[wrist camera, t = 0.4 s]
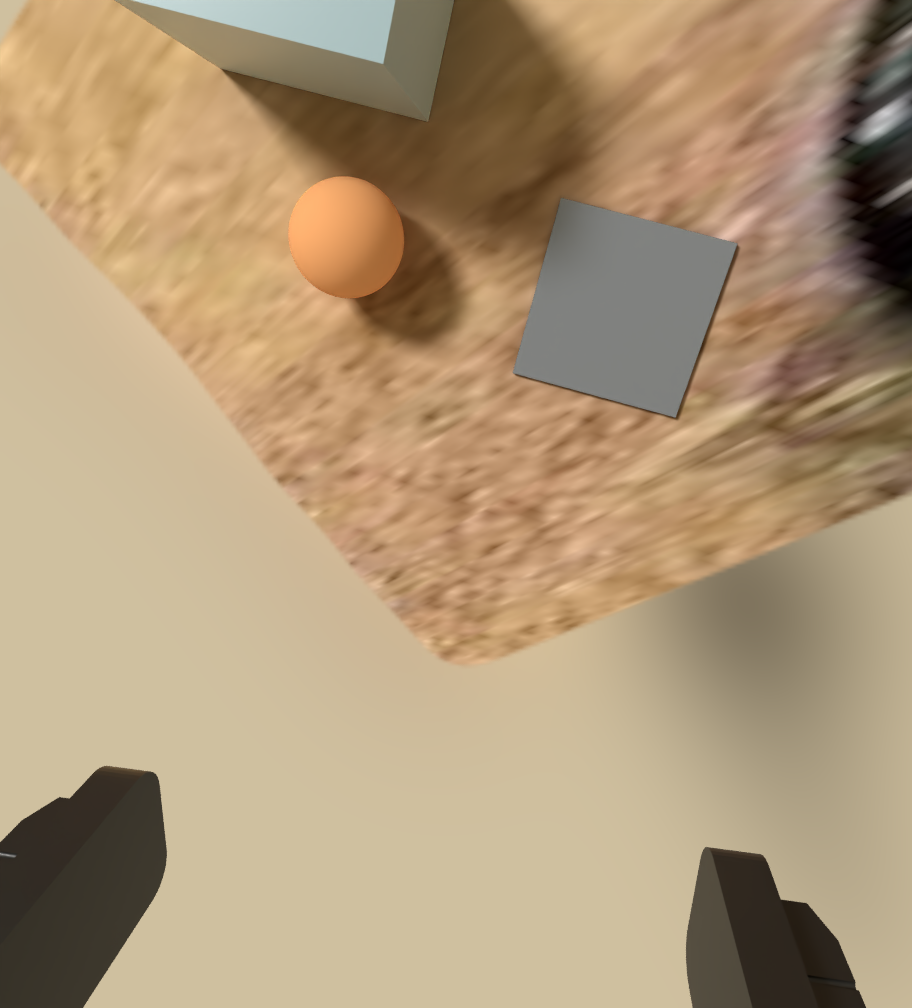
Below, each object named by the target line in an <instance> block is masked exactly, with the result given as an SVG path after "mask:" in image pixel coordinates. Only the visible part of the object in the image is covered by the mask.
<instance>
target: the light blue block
mask: <svg viewBox="0 0 912 1008" xmlns="http://www.w3.org/2000/svg"><path fill="white" fill-rule="evenodd" d="M115 1H117V2H118V3H120V4H121V5H123V6H124V7H126V8H127V9H129V10H130V11H132V12H134V13H135V14H137V15H138V16H140V17H141V18H143V19H144V20H146V21H147V22H149V23H151V24H152V25H154V26H155V27H157V28H158V29H160V30H161V31H163V32H164V33H166V34H168V35H169V36H171V37H172V38H174V39H175V40H177V41H178V42H180V43H181V44H183V45H185V46H186V47H188V48H189V49H191V50H192V51H194V52H195V53H197V54H198V55H200V56H202V57H203V58H205V59H206V60H208V61H209V62H211V63H212V64H214V65H215V66H217V67H219V68H220V69H224V70H228V71H232V72H236V73H240V74H243V75H247V76H251V77H255V78H259V79H263V80H267V81H271V82H275V83H279V84H282V85H286V86H290V87H294V88H298V89H302V90H306V91H310V92H314V93H317V94H321V95H325V96H329V97H333V98H337V99H341V100H345V101H349V102H353V103H356V104H360V105H364V106H368V107H372V108H376V109H380V110H384V111H388V112H391V113H395V114H399V115H403V116H407V117H411V118H415V119H419V120H423V121H427V122H428V121H429V116H430V111H431V107H432V102H433V97H434V93H435V88H436V83H437V79H438V74H439V69H440V65H441V60H442V55H443V51H444V46H445V41H446V37H447V32H448V27H449V22H450V18H451V13H452V8H453V4H454V0H115Z"/></svg>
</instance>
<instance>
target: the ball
mask: <svg viewBox="0 0 912 1008" xmlns="http://www.w3.org/2000/svg"><path fill="white" fill-rule="evenodd" d="M289 245H290V249H291V253H292V256H293V259H294V261H295V263H296V265H297V267H298V269H299V270H300V272H301V273H302V275H303V276H304V277H305V278H306V279H307V280H308V281H309V282H310V283H311V284H312V285H313V286H315V287H316V288H318V289H319V290H321V291H323V292H325V293H327V294H329V295H332V296H336V297H341V298H358V297H363V296H366V295H369V294H371V293H374V292H375V291H377V290H379V289H380V288H382V287H383V286H384V285H385V284H386V283H387V282H388V281H389V280H390V279H391V278H392V276H393V275H394V274H395V272H396V270H397V269H398V266H399V264H400V262H401V258H402V255H403V249H404V231H403V226H402V222H401V219H400V216H399V214H398V212H397V210H396V208H395V206H394V205H393V203H392V201H391V200H390V199H389V198H388V197H387V196H386V195H385V194H384V193H383V192H382V191H381V190H380V189H379V188H377V187H376V186H374V185H373V184H371V183H369V182H367V181H365V180H362V179H359V178H355V177H349V176H338V177H332V178H328V179H325V180H323V181H320V182H318V183H316V184H315V185H313V186H312V187H310V188H309V189H308V190H307V191H306V192H305V193H304V194H303V195H302V196H301V198H300V199H299V201H298V202H297V204H296V206H295V208H294V210H293V212H292V215H291V219H290V223H289Z"/></svg>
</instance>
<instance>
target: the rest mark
mask: <svg viewBox="0 0 912 1008" xmlns="http://www.w3.org/2000/svg"><path fill="white" fill-rule="evenodd" d="M736 246H737V243H734V242H730V241H726V240H722V239H718V238H714V237H710V236H707V235H703V234H699V233H695V232H691V231H687V230H683V229H680V228H676V227H672V226H668V225H664V224H660V223H657V222H653V221H649V220H645V219H641V218H637V217H633V216H630V215H626V214H622V213H618V212H614V211H610V210H606V209H603V208H599V207H595V206H591V205H587V204H583V203H580V202H576V201H572V200H568V199H564V198H561V200H560V204H559V207H558V211H557V215H556V218H555V222H554V225H553V229H552V233H551V236H550V240H549V244H548V247H547V251H546V254H545V258H544V262H543V265H542V269H541V273H540V276H539V280H538V283H537V287H536V291H535V294H534V298H533V302H532V305H531V309H530V312H529V316H528V320H527V323H526V327H525V331H524V334H523V338H522V341H521V345H520V349H519V352H518V356H517V360H516V363H515V367H514V370H513V373H514V374H518V375H522V376H525V377H529V378H533V379H536V380H540V381H544V382H547V383H551V384H555V385H558V386H562V387H565V388H569V389H573V390H576V391H580V392H584V393H587V394H591V395H595V396H598V397H602V398H606V399H609V400H613V401H617V402H620V403H624V404H628V405H631V406H635V407H639V408H642V409H646V410H650V411H653V412H657V413H661V414H664V415H668V416H672V417H675V418H676V415H677V412H678V409H679V406H680V404H681V401H682V398H683V395H684V392H685V390H686V387H687V384H688V381H689V378H690V376H691V373H692V370H693V367H694V364H695V361H696V359H697V356H698V353H699V350H700V347H701V345H702V342H703V339H704V336H705V333H706V331H707V328H708V325H709V322H710V319H711V317H712V314H713V311H714V308H715V305H716V303H717V300H718V297H719V294H720V291H721V288H722V286H723V283H724V280H725V277H726V274H727V272H728V269H729V266H730V263H731V260H732V258H733V255H734V252H735V249H736Z"/></svg>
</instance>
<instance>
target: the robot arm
mask: <svg viewBox="0 0 912 1008" xmlns="http://www.w3.org/2000/svg"><path fill="white" fill-rule="evenodd" d="M166 858H167V850H166V841H165V831H164V822H163V813H162V804H161V794H160V785H159V780H158V777H157V776H156V774H154V773H153V772H149V771H142V770H134V769H127V768H119V767H111V766H104V767H101V768H99V769H98V770H96V771H95V772H94V773H93V774H92V775H91V776H90V777H89V778H88V779H87V781H86V782H85V783H84V784H83V785H82V786H81V787H80V788H79V789H78V790H77V791H76V792H75V793H74V794H73V796H72V797H71V798H70V799H68V798H61V797H59V798H57V799H56V800H54V801H52V802H51V803H49V804H48V805H46V806H44V807H43V808H41V809H40V810H38V811H36V812H35V813H33V814H32V815H30V816H29V817H27V818H25V819H23V820H22V821H21V822H20V823H19V824H18V825H17V826H16V827H15V828H14V829H13V830H12V831H11V832H10V833H9V834H8V835H7V836H6V837H5V838H4V839H3V840H2V841H1V842H0V1008H83V1007H84V1005H85V1004H86V1002H87V1001H88V999H89V997H90V996H91V994H92V993H93V991H94V990H95V988H96V987H97V985H98V983H99V982H100V981H101V979H102V977H103V976H104V974H105V973H106V971H107V970H108V968H109V967H110V965H111V963H112V962H113V960H114V959H115V957H116V956H117V954H118V953H119V951H120V949H121V948H122V947H123V945H124V944H125V942H126V941H127V938H128V937H129V936H130V934H131V933H132V931H133V930H134V928H135V927H136V925H137V924H138V922H139V921H140V919H141V917H142V916H143V914H144V913H145V911H146V910H147V908H148V907H149V905H150V904H151V902H152V900H153V899H154V897H155V895H156V893H157V891H158V889H159V887H160V884H161V881H162V878H163V874H164V871H165V866H166ZM686 963H687V976H688V983H689V989H690V995H691V1000H692V1006H693V1008H866V1006H865V1004H864V1002H863V999H862V997H861V995H860V992H859V991H858V990H856V987H855V980H854V978H853V975H852V973H851V970H850V968H849V966H848V964H847V961H846V958H845V956H844V954H843V951H842V949H841V946H840V944H839V942H838V940H837V939H836V938H835V936H834V935H833V934H832V933H831V932H830V930H829V929H828V928H827V927H826V926H825V924H823V922H822V921H821V920H820V918H819V917H818V916H817V915H816V914H815V912H814V911H813V910H812V909H811V908H810V907H809V905H808V904H807V903H801V902H794V901H787V900H781V899H780V897H779V894H778V891H777V888H776V885H775V882H774V879H773V877H772V874H771V871H770V868H769V865H768V863H767V861H766V859H765V858H764V856H763V855H761V854H754V853H747V852H739V851H732V850H723V849H717V848H709V847H705V849H704V850H703V852H702V855H701V860H700V865H699V870H698V876H697V881H696V886H695V892H694V898H693V903H692V908H691V914H690V920H689V925H688V930H687V942H686Z"/></svg>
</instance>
